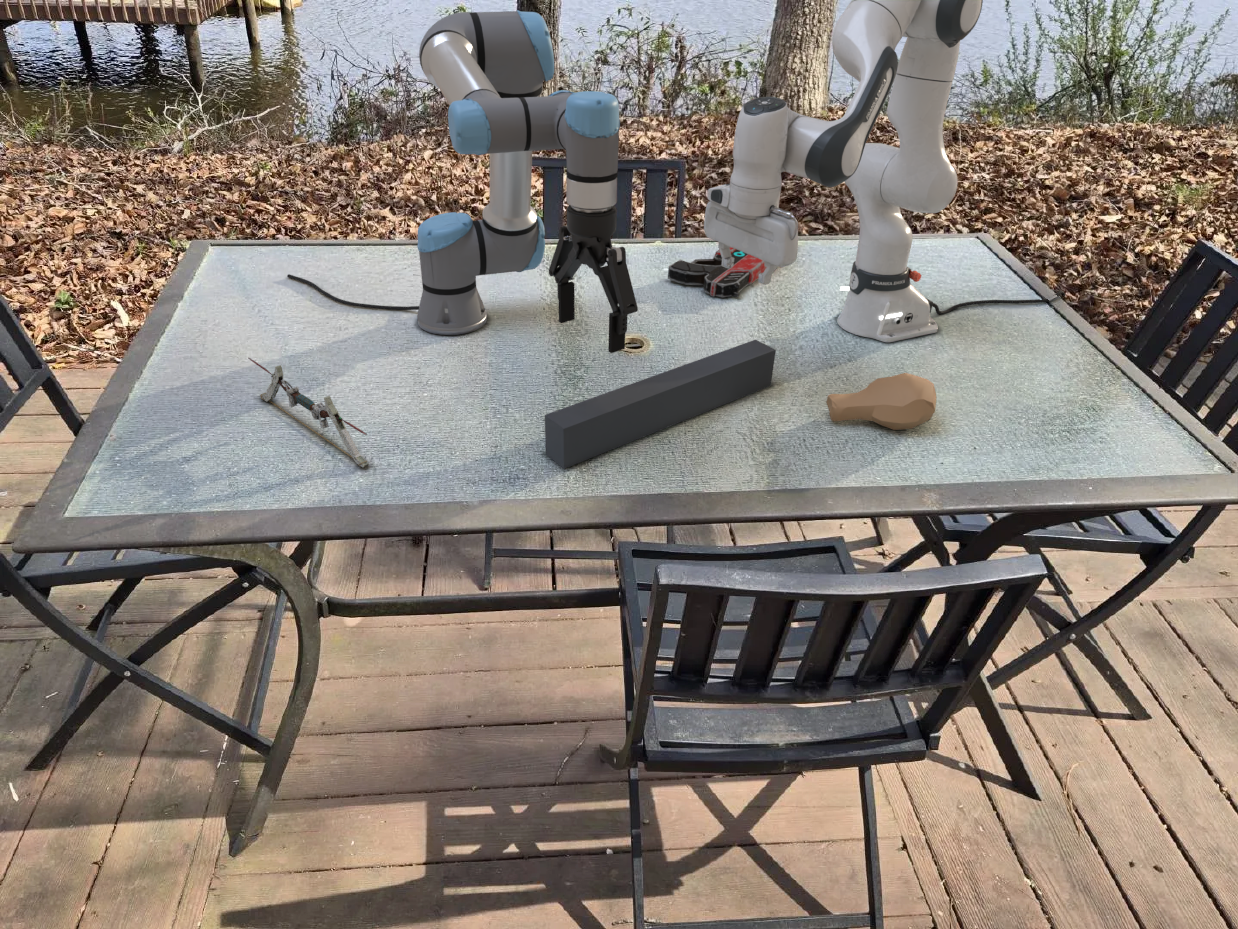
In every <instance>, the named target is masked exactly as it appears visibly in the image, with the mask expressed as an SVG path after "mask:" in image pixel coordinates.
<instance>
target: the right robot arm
mask: <svg viewBox="0 0 1238 929" xmlns="http://www.w3.org/2000/svg"><path fill="white" fill-rule="evenodd" d="M983 2H984V0H851V1H850V2H849V3H848V5H847V6H846V7H845V9H844V10H843V12H842V13H841V15H840V16H839V18H838V20H837V22H836V24H835V25H834V28H833V31H832V37H831V47H832V51H833V55H834V58H835V59H836V61H837V63H838V64H839V65H840V67H841V68H842V69H843V70H844V72H846V74H848V75H849V76H851V77H852V78H854V80H856V81H858V85H857V88H856V90H855V92H854V94H853V96H852V98H851V100H850V103H849V104H848V107H847V109H846V110H845V113H844V115H843V116H842V117H840V118H838V119H836V120H824V119H820V118H817V117H816V118H815V117H811V116H808V115H805V114H800V113H798V112H796V111H794V110H792V109H791V108H789V106H788V103H787V101H786V100H784V99H782V98H780V97H776V96H761V97H760V96H759V97H754V98H752V99H750V100H748V101H746V102H744V104H743V105H742V107H741V108H740V111H739V114H738V118H737V122H736V126H735V132H734V138H733V145H732V146H733V147H732V159H733V170H732V173H731V174H730V178H729V183H725V184H721V185H717V186H714V187H710V188H708V189H707V200H708V202H707V204H706V206H705V212H704V221H703V231H704V234H705V236H706V238H708V239H711V240H713V241H715V242H718V244H717V245H718V250H719V251H720V254H721V257H722V266H723V267H725V268H728V269H729V268H732V267H733V266H734V263H733V262H734V258H733V257H731V252H730V247H732V248H735V249H737V250H739V251H742V252H744V253H747V254H749V255H751V256H754V257H756V258H759V259H761V260H764V261H765V264H764V266H765V267H767V268H766V269H765V271H764V272H763V273H759V279H757V282H758V283H760V284H762V285H764V286H767V285H770V283H771V282H772V276H773V273H775V271H776V270H777V268H784V267H785V268H786V267H788V266H791V265H793V264H794V263H795V262H796V261H797V259H798V249H799V248H798V247H799V222H798V220H797V218H796V217H795V216H794V213H793V212H792V211H789V210H785V209H783V208H780V201H781V200H780V198H781V192H782V185H783V184H782V183H783V181H782V180H783V179H782V173H784V172H785V173H787V174H789V175H793V176H797V177H801V178H804V179H808V180H810V181H812V182H814V183H816V184H819V185H822V186H824V187H826V188H834V187H837V186H839V185H841V184H842V183H844V184H845V185H846V186H847V188H848V189H849V191H850V193H851V195H852V197H853V199H854V201H855V205H856V209H857V214H858V223H859V235H858V243H857V250H856V254H855V255H856V256H855V260H854V261H853V263H852V267H851V271H850V277H849V283H848V284H849V285H848V286H840V289H839V291H847V294H846V299H845V302H844V304H843V306H842V309H841V311H840V313H839V315H838V317H837V319H836V321H837V324H838V326H839V327H840V328H841V329H842V330H844V331H845V332H848V333H850V334H853V335H856V336H859V337H863V338H864V337H865V338H870V339H874V340H877V341H879V342H883V343H893V342H897V341H903V340H907V339H913V338H916V337H917V338H918V337H922V336H926V335H931V334H935V333H937V332H938V330H939V329H938V328H939V327H938V323H937V322H936V320H935V319H934V318H933V317H931V312H932V309H933V308H934V310H935V313H936V314H937V315H946V314H948V313H950V312H953V311H954V310H956V309H958V308H963V307H967V306H975V305H986V304H987V305H988V304H1009V305H1010V304H1017V305H1018V304H1041V303H1048V302H1050V301H1049V300H1048V299H1046V298H1042V299H1043V300H1040V299H1041V298H1039V299H985V300H971V301H966V302H961V303H957V304H954V305H953V306H951V307H949V308H947V309H946V310H940V307H939V305H938V304H937V303H935V302H933V301H932V300H931V299H928V298H927V297H925V295H924V294H922V293H921V292H920V290H918V289H917V287H915V286H914V285H913V284H912V283H911V280H912V281H913V282H914V283H919V282H920V280H922V274H921V273H920V272H918V271H917V270H912V269H911V268H910V267H909V266H908V263H909V258H910V255H911V250H912V244H913V240H914V239H913V237H914V236H913V231H912V229H911V227H910V225H909V224H908V223H907V222H906V220H905V218H904V217H903V215H902V212H901V209H904V210H907V211H910V212H914V213H922V214H923V213H924V214H937V213H940V212H941V211H943V210H944V209H945V208H947V207H948V206H949V205H950V203H951V202H952V201H953V199H954V198H955V195H956V193H957V190H958V184H959V183H958V181H959V180H958V175H957V170H956V169H955V167H954V166H953V165H952V163H951V161H950V160H949V157H948V154H947V152H946V148H945V143H944V142H945V141H944V120H945V114H946V110H947V106H948V101H949V97H950V94H951V90H952V86H953V81H954V78H955V74H956V70H957V64H958V61H959V60H958V59H959V53H960V45H961V41H962V40H964V39H966V37H967V36H968V35H969V34H970V33H971V32H972V31H973V30H974V28H975V27H976V25H977V23H978V20H979V19H980V17H981V13H982V9H983ZM903 37H904V38H906V40H905V42H904V45H903V47H902V49H901V50H902V51H901V53H900V56H899V58H898V54H897V52H896V51H895V50H896V49H897V45H898V44H899V43H900V42H901V39H902V38H903ZM889 94H890V95H889ZM888 97H889V99H888ZM887 99H888V103H887V108H886V116H887V119H888V121H889V123H890V124H891V125H892V127H893V128H894V129H895V130H896V133H897V136H898V140H899V147H897V146H893V145H890V144H886V143H882V142H881V143H880V142H867V141H868V139H869V137H870V134H871V133H872V130H873V129H874V126H875V124H876V122H877V120H878V118H879V116H880V114H881V111H882V109H883V107H884V105H885V103H886V100H887ZM1054 295H1057V296H1058V297H1059V296H1061V297H1066V293H1065V292H1064V291H1063V290H1059V291H1057V292H1056V293H1055V294H1054Z"/></svg>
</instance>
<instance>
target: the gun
mask: <svg viewBox="0 0 1238 929" xmlns="http://www.w3.org/2000/svg"><path fill="white" fill-rule="evenodd" d="M730 252H731V257H733V258H734V262H733V263H734V266H733V267H732V268H729V269H728V268H725V267H723V266H722V257H721V254H720V251H719V249H717V250H716V251H715V253H714V255H713V258H696V259H695V258H694V260H692V261H691V262H689V261H687V260H683V259H678V260H676V261H675V262H673V263H671V264H670V265H668V270H667V271H668V272H667V279H668V280H670V281H672V282H674V283H678V284H681V285H685V286H686V285H688V286H703V291H704V293H705V294H708V295H710V297H719V298H727V297H732V298H737V299H738V298H739V297H740V292H741V291H742V290H743V289H745V288H746V287H747V286H751V285H752V284H753V283H755V282H756V281H758V279H759V273H763V272H764V271H765V269H766V268H767V267H765V266H764V264H765V261H764V260H761V259H759V258H756V257H754V256H751V255H749V254H747V253H744V252H742V251H739V250H737V249H735V248H732V247H730Z"/></svg>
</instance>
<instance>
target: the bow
mask: <svg viewBox="0 0 1238 929" xmlns="http://www.w3.org/2000/svg"><path fill="white" fill-rule="evenodd" d="M247 358H248V359H249V360H250V361H251V362H252V363H253V364H255V365H256V366H257V367H259V368H260V369H262V370H263V371H265V372H266V373H268V374H269V375H271V379H270V380H271V381H270V384H269V385H268V387H267V389H266V392H262V393H260V394H259V397H260V399H261V400H262V401H264V402H269V403H271V404H272V405H274V406H276V407H277V408H278V409H280V410H281V411H283V412H284V413H286V414H287V415H288V416H290V417H291V418H293V419H294V420H296V421H297V422H298V423H300V424H302V425H303V426H305V427H306V428H308V429H309V430H311V431H312V432H313V433H315V434H316V435H318V436H319V437H320V438H323V440H324V441H327V442H328V443H330V444H331V445H332V446H334V447H335V448H337V449H338V450H339V451H341V452H343V453H344V454H345V455H347V456H348V457H350V458H351V459H353V461H354V462H355V463H356V465H357V466H359V467H360V468H365V466H370V463H369V462H368V460H366V459H365V458H364V457H363V456H362V454H361V453H360V451H359V449H358V448H357V445H356V444H355V441H354V440H353V438H352V436H351V435H350V433H349V431H348V430H347V426H346V425H348V426H350V427H351V428H353V429H354V430H356V431H357V432H359V433H361V434H363V435H365V436H368V433H366V432H365V431H363V430H362V429H360V428H359V427H357V426H356V425H354V424H352V423H350V422H349V421H347V420H344V419H343V417H342V416H341V414H340V413H339V411H338V409H337V408H336V406H335V404H334V402H333V400H332V397H331V396H330V395H327V396H324V397H323V402H324V403H323V402H322V401H321V402H318V403H316V404H315V402H314V401H313V400H312V399H311V398H309V397H307V395H304V394H301V392H300V389H299V386H293V385H292V384H290V383H289V381H287V380H285V379H284V372H283V367H282V365H281V364H279V365H276V366H275V367H274V372H273V373H271V372H270V371H269V370H268V369H267V368H265V367H264V366H263V365H262V364H260V363H259V362H257V361H256V360H254V359H252V358H251V357H249V356H248V357H247ZM280 387H281V388H282V389H283V390H284V392H285V393H286V396H287V398H288V406H289V407H290V408H291V409H293V408H294V407H298V405H300V406H301V407H303V408H305V409H306V410H307V411H309V412H311V416H312V418H313V419H314V420H317V421H319V425H320V428H321V429H322V430H324V429H326V428H329V427H330V426H329V422H328V420H327V418H330V420H331V421H332V423H333V425H334V427H335V429H336V431H337V432H338V435H339V437H340V439H341V441H342V443H343V444H344V445H345V447H346V448H345V449H347V452H346V451H345V450H344V449H342V448H340V447H339V446H338V445H336V444H335V443H333V442H332V441H330V440H328V439H327V438H326V437H324V436H323V435H321V434H320V433H319V432H317V431H316V430H314V429H312V428H311V427H310V426H308V425H307V424H305V423H304V422H302V421H301V420H299V419H297V417H295V416H293V414H291V413H289V412H288V411H286V410H285V409H283V408H282V407H281V406H279V405H278V404H276V403H274V402H273V401H272V400H274V399H275V398H276V396H277V394H278V392H279V390H280ZM344 423H345V424H346V425H345V424H344Z"/></svg>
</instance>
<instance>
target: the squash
mask: <svg viewBox="0 0 1238 929" xmlns="http://www.w3.org/2000/svg"><path fill="white" fill-rule="evenodd" d="M937 398H938V397H937V393H936V387H935V384H934V383H933V382H932V381H930V380H929V379H927V378H925V377H922V376H918V375H916V374H913V373H908V372H903V373H899V374H895V375H891V376H884V377H877V378H876V379H874V380H873V381H871V382H870V383H869V384H868V385H867V386H866V387H865V388H863V389H861V390H859V391H858V392H851V393H850V392H849V393H830V394H828V395H827V397H826V401H825V405H827V409H828V413H829V414H828V415H829V418H830V421H831V422H841V421H842V422H843V421H852V420H854V421H855V420H863V421H869V422H874V423H876V424H878V425H879V426H883V427H885V428H888V429H890V430H893V431H900V430H912V429H914V428H916V427H919V426H921V425H922V424H924V423H927V422H928V421H930V420H931V419H932V418H933V416H934V414H935V412H936V406H937Z"/></svg>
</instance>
